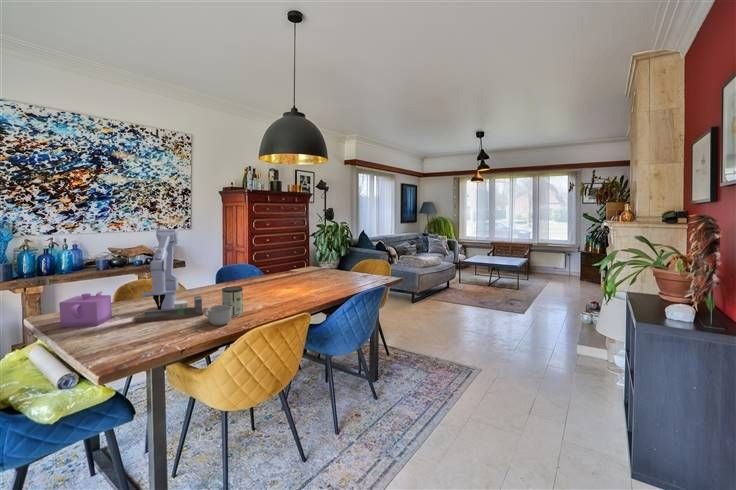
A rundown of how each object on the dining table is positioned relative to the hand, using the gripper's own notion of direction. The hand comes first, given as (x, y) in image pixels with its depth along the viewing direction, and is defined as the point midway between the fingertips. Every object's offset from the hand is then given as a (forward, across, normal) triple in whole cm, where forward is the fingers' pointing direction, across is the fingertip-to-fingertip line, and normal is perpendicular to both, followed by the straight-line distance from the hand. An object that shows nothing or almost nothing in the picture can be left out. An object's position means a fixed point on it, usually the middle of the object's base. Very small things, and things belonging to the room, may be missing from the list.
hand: (159, 309), depth 183 cm
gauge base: (+4, +5, 0) cm, 6 cm away
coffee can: (+4, +34, -10) cm, 36 cm away
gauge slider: (+2, +10, -1) cm, 10 cm away
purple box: (+4, -30, +6) cm, 31 cm away
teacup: (+4, +25, -23) cm, 34 cm away
